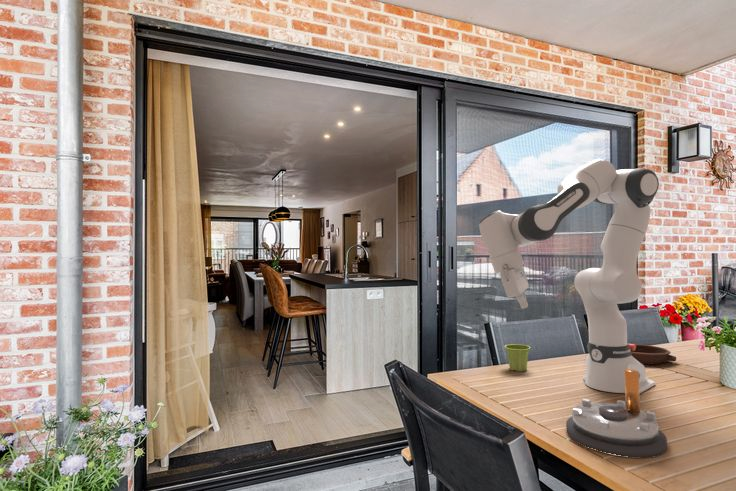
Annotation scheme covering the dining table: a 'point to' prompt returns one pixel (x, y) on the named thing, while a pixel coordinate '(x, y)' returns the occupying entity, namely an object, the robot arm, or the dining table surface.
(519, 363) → the plant pot
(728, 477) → the dining table surface
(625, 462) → the dining table surface
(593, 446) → the base plate
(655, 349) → the dish
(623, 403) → the round lugged disc
